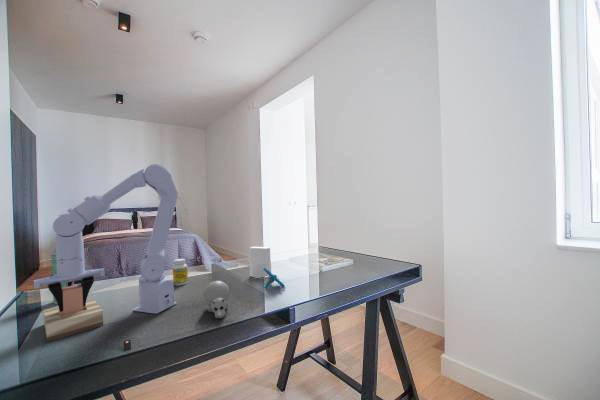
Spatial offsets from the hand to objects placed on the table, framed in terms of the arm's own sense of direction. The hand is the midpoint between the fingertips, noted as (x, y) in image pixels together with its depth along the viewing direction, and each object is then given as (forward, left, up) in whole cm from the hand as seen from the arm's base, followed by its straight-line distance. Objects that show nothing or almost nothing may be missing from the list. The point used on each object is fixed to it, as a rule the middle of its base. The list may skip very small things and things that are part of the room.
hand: (72, 307), depth 73 cm
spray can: (+25, -12, -5) cm, 28 cm away
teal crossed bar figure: (-41, -41, -5) cm, 58 cm away
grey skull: (-35, -16, -5) cm, 39 cm away
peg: (0, 0, -2) cm, 2 cm away
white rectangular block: (-29, -54, -5) cm, 61 cm away
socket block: (0, 0, -5) cm, 5 cm away
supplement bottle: (-2, -37, -5) cm, 37 cm away
